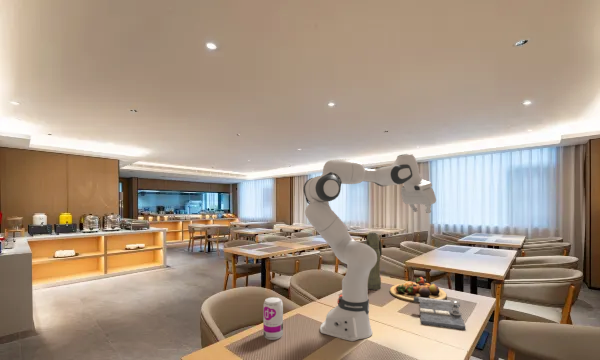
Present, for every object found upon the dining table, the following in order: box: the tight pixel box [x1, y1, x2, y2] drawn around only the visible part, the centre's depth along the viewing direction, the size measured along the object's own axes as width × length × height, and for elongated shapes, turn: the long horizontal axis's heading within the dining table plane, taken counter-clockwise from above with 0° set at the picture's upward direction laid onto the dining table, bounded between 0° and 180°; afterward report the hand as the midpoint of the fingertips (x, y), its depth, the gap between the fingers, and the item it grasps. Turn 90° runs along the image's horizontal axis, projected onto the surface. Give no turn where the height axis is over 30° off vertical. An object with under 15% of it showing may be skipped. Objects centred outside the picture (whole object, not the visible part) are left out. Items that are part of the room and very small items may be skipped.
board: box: [419, 302, 466, 331], centre depth 144 cm, size 18×26×5 cm
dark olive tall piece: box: [363, 232, 383, 291], centre depth 190 cm, size 9×12×35 cm
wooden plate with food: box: [389, 276, 448, 304], centre depth 176 cm, size 32×32×8 cm
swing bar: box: [414, 296, 461, 308], centre depth 146 cm, size 21×4×2 cm, turn 69°
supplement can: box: [262, 296, 284, 341], centre depth 125 cm, size 8×8×15 cm
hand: (421, 212), depth 144 cm, fingers open, 8 cm apart
